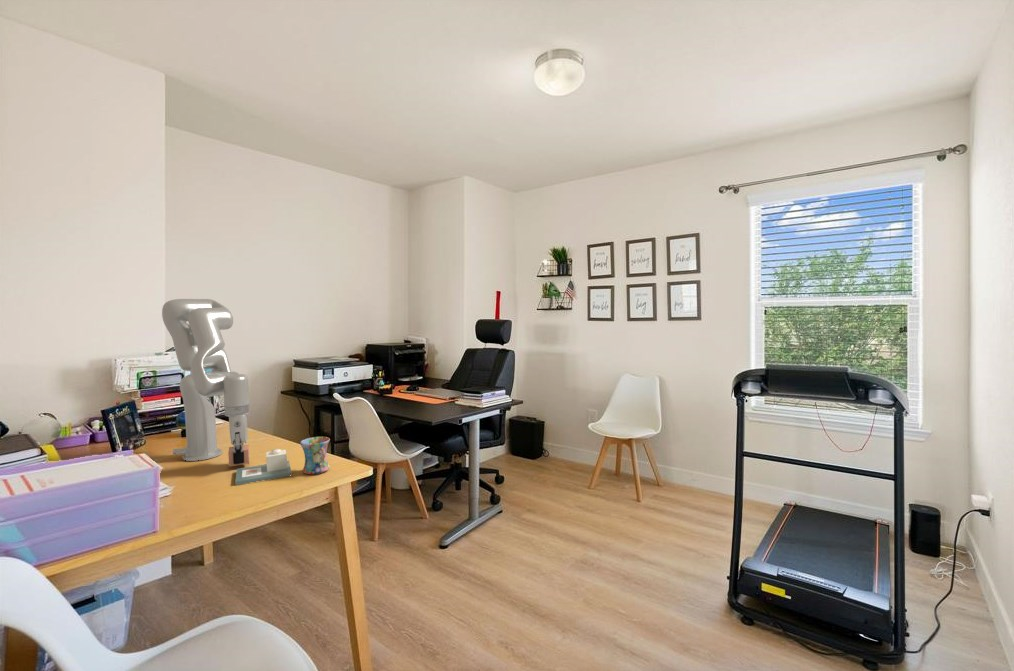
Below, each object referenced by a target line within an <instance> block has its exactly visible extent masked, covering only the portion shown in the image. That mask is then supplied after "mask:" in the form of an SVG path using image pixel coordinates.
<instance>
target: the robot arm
mask: <svg viewBox="0 0 1014 671" xmlns="http://www.w3.org/2000/svg"><path fill="white" fill-rule="evenodd" d="M161 317H162V321H163V324H164V326H165V328H166V330H167V332H168V333H169V335H170V337H171V339H172V342H173V347H174V351H175V354H176V358H177V361H178V364H179V367H180V369H182V371H184V372H185V371H186V372H190V374H187V375H185V376H183V377H182V378H181V380H180V381H179V390H180V394H181V397H182V401H183V408H184V420H185V438H186V446H183V447H182V448H173V449H172V455H176V456H178V455H182V460H183V461H185V460H186V461H185V462H197V461H198V460H199V461H204V460H210V459H213V458H216V457H219V456H220V455H222V454H223V450H222V449H221V448H218V442H217V441H218V440H217V439H218V438H217V423H216V410H215V405H213V404H212V402H211V401H210V400H208V398H211V397H215V396H222V395H223V402H224V403H223V406H224V416H225V417H228V428H229V438H230V444H231V445H233V447H234V453H233V463H234V464H241V463H244V451H243V445H244V444H247V443H248V437H249V436H248V421H247V420H248V417H247V415H249V414H250V391H249V378H248V375H246V374H242V373H238V372H236V371H232V370H231V366H230V362H229V358H228V356H227V352H226V350H225V348H224V347H225V346H226V344H225V339H224V338H223V335H222V332H221V330H223V331H224V330H229V329H231V328H232V327H233V324H234V316H233V314H232V312H231V311H230V309H228V308H227V307H226V306H225V305H223V304H222V303H220V302H218V301H216V300H214V299H211V298H210V299H209V298H175V299H170V300H168V301H166V302H165V303H164V304H163V306H162V310H161ZM206 370H211V371H206ZM199 461H198V462H199Z"/></svg>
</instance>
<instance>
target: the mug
mask: <svg viewBox="0 0 1014 671" xmlns="http://www.w3.org/2000/svg"><path fill="white" fill-rule="evenodd" d="M330 441H331V439H330V437H327V436H314V437H308V438H305V439H302V440H300V442H299V444H300V446H301V448H302V450H303V454H304V466H303V469H302V472H303V473H304V474H307V475H317V474H322V473H325V472H326V471H329V470H330V468H331V467H330V466H331V465H329V464H330V463H329V462H328V459H327V453H328V452H327V451H328V446H329V443H330Z"/></svg>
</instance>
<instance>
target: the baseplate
mask: <svg viewBox="0 0 1014 671" xmlns="http://www.w3.org/2000/svg"><path fill="white" fill-rule="evenodd" d="M265 455H266V456H265V458H266V461H265V462H266V464H260V465H259V464H258V465H252V466H246V467H241V468H236V473H235V486H240V484H242V485H246V484H245V483H248V484H251V483H250V482H254V483H257V482H256V481H259V482H263V481H262V480H265V481H269V480H268V479H271V480H275V479H274V478H277V479H281V478H280V477H283V478H286V477H285V476H289V477H291V476H290V475H292V474H293V472H292V469H291V464H290V461H289V460H288V458H287V449H280V448H275V449H272V450H271V451H266V452H265Z"/></svg>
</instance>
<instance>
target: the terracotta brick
mask: <svg viewBox="0 0 1014 671" xmlns="http://www.w3.org/2000/svg"><path fill="white" fill-rule="evenodd" d="M249 446H250V445H249V444H245V445H244V444H243V451H244V463H241V464H234V463H233V453H234V446H229V447H228V451H227V452H228V454H227V455H228V466H229V467H233V466H234V467H235V466H241V465H249V464H250V455H249V454H250V452H249V451H250V448H249Z"/></svg>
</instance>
